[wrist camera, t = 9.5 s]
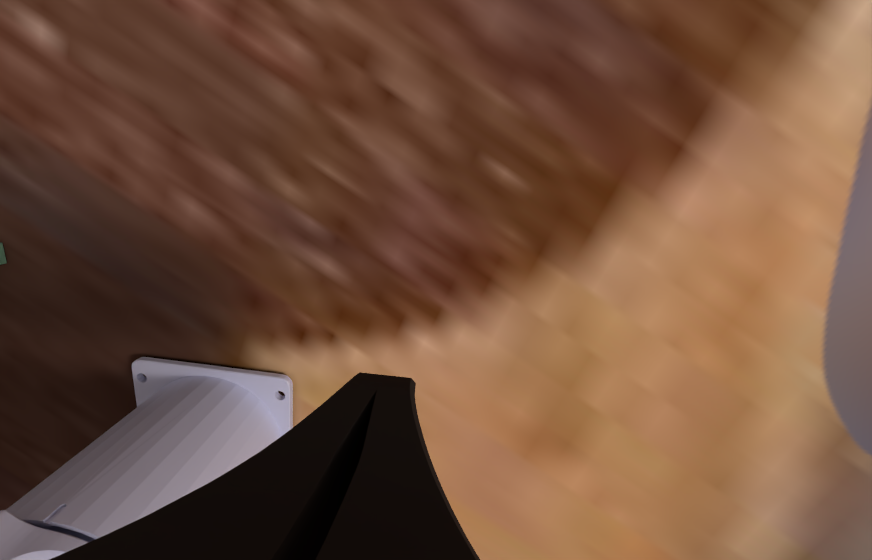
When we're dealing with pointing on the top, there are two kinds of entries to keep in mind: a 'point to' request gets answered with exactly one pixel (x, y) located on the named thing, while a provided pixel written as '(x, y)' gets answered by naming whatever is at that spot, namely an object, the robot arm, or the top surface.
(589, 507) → the top surface
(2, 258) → the green tray
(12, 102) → the top surface
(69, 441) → the top surface
